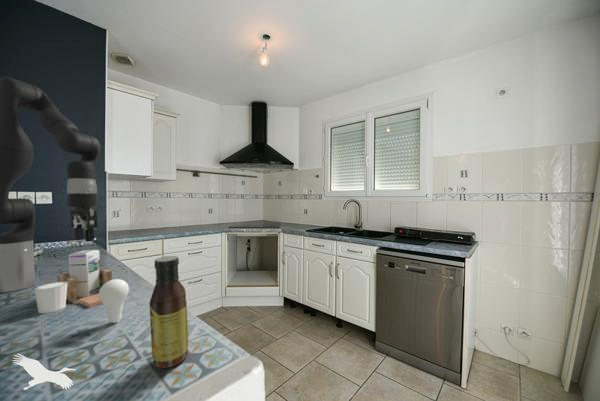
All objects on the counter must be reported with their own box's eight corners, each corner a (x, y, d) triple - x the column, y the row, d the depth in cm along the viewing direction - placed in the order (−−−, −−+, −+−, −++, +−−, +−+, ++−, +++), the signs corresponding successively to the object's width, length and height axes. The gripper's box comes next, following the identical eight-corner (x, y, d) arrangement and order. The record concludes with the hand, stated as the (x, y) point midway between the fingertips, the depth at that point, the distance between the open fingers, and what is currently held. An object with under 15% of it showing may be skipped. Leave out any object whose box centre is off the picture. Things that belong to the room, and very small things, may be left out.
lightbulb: (135, 318, 64) (134, 276, 64) (110, 330, 58) (109, 285, 58) (119, 315, 66) (117, 275, 66) (93, 326, 60) (92, 282, 60)
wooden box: (58, 295, 81) (57, 274, 81) (95, 285, 90) (95, 267, 90) (73, 303, 75) (72, 280, 75) (112, 291, 84) (111, 271, 84)
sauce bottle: (162, 350, 50) (159, 254, 50) (193, 348, 50) (190, 252, 50) (144, 373, 43) (140, 262, 43) (180, 370, 44) (177, 261, 44)
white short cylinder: (47, 315, 67) (46, 290, 67) (28, 313, 69) (27, 288, 68) (74, 304, 74) (73, 281, 74) (57, 303, 75) (56, 280, 75)
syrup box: (88, 296, 80) (87, 252, 79) (69, 297, 79) (68, 253, 79) (101, 290, 85) (100, 249, 85) (83, 291, 85) (82, 250, 85)
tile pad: (79, 302, 75) (78, 298, 75) (110, 293, 82) (110, 289, 82) (89, 307, 71) (89, 303, 71) (122, 297, 78) (121, 293, 78)
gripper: (59, 193, 82) (61, 241, 82) (76, 191, 75) (78, 243, 75) (87, 193, 89) (89, 237, 89) (105, 191, 82) (107, 239, 82)
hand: (84, 240), depth 82 cm, fingers open, 8 cm apart
